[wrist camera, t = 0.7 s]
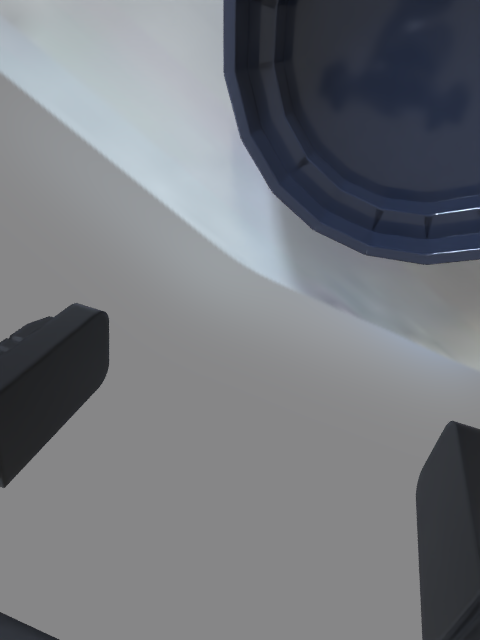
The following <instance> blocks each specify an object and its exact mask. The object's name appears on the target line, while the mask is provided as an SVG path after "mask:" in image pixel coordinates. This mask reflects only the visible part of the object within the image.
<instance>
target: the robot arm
mask: <svg viewBox="0 0 480 640" xmlns="http://www.w3.org/2000/svg"><path fill="white" fill-rule="evenodd" d="M108 367H109V318H108V315H107V313H106V312H104V311H101V310H97V309H94V308H91V307H88V306H84V305H81V304H78V303H75V304H72V305H70V306H69V307H67V308H66V309H65V310H63V311H62V312H60V313H59V314H58V315H56V316H55V317H50V316H49V317H46V318H43V319H40V320H37V321H34V322H32V323H29V324H27V325H25V326H24V327H22V328H21V329H19V330H18V331H16V332H15V333H13V334H12V335H10V338H9V339H7V338H6V339H5V340H3V341H2V342H0V487H3V488H5V487H6V486H7V485H8V484H9V483H10V481H11V480H12V479H13V478H14V477H15V476H16V475H17V474H18V473H19V472H20V471H21V470H22V469H23V468H24V467H25V466H26V464H27V463H28V462H29V461H30V460H31V459H32V458H33V457H34V456H35V455H36V454H37V453H38V452H39V451H40V450H41V449H42V447H43V446H44V445H45V444H46V443H47V442H48V441H49V440H50V439H51V438H52V437H53V436H54V435H55V434H56V433H57V432H58V430H59V429H60V428H61V427H62V426H63V425H64V424H65V423H66V422H67V421H68V420H69V419H70V418H71V417H72V416H73V414H74V413H75V412H76V411H77V410H78V409H79V408H80V407H81V406H82V405H83V404H84V403H85V402H86V401H87V399H89V397H90V396H91V395H92V394H93V393H94V392H95V391H96V390H97V389H98V388H99V387H100V385H101V384H102V382H103V381H104V379H105V376H106V374H107V371H108ZM416 509H417V531H418V552H419V573H420V595H421V617H422V638H423V640H480V429H477V428H474V427H471V426H467V425H464V424H461V423H458V422H454V421H450V422H449V423H448V424H447V425H446V427H445V429H444V430H443V432H442V434H441V436H440V438H439V439H438V441H437V443H436V445H435V447H434V448H433V450H432V452H431V454H430V456H429V457H428V459H427V461H426V463H425V465H424V467H423V468H422V471H421V473H420V476H419V479H418V484H417V490H416ZM0 640H59V639H57V638H55V637H52V636H50V635H48V634H46V633H43V632H41V631H39V630H37V629H35V628H33V627H31V626H29V625H27V624H24V623H22V622H20V621H18V620H16V619H14V618H12V617H9V616H7V615H5V614H3V613H1V612H0Z"/></svg>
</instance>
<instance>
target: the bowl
mask: <svg viewBox="0 0 480 640" xmlns="http://www.w3.org/2000/svg"><path fill="white" fill-rule="evenodd" d="M224 73H225V74H224V77H225V81H226V84H227V88H228V92H229V96H230V100H231V104H232V107H233V111H234V115H235V119H236V123H237V126H238V130H239V134H240V138H241V139H242V142H243V144H244V145H245V147H246V149H247V151H248V152H249V154H250V156H251V157H252V159H253V161H254V162H255V164H256V166H257V167H258V169H259V171H260V172H261V174H262V176H263V178H264V179H265V181H266V183H267V184H268V186H269V188H270V189H271V191H272V193H274V194H275V195H276V196H277V197H278V198H279V199H280V200H281V201H282V202H283V203H284V204H286V205H287V206H288V207H289V208H290V209H291V210H292V211H293V212H294V213H295V214H296V215H297V216H299V217H300V218H301V219H302V220H303V221H304V222H305V223H306V224H307V225H308V226H309V227H310V228H312V229H313V230H315V231H316V232H318V233H320V234H322V235H325V236H327V237H329V238H331V239H333V240H335V241H337V242H339V243H341V244H343V245H345V246H347V247H350V248H352V249H354V250H356V251H358V252H360V253H362V254H364V255H365V254H366V255H368V256H374V257H380V258H386V259H393V260H399V261H405V262H411V263H417V264H423V265H424V264H425V265H430V264H440V263H449V262H459V261H469V260H479V259H480V0H224Z"/></svg>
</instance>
